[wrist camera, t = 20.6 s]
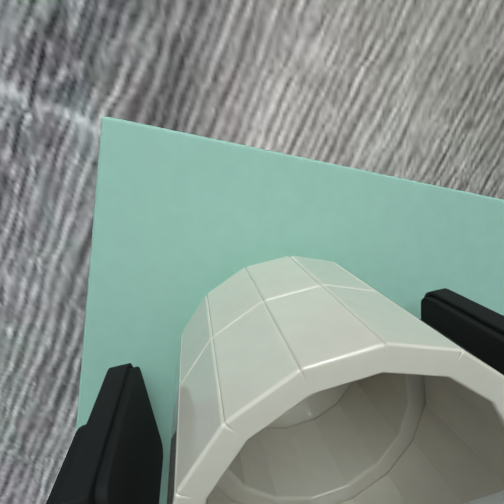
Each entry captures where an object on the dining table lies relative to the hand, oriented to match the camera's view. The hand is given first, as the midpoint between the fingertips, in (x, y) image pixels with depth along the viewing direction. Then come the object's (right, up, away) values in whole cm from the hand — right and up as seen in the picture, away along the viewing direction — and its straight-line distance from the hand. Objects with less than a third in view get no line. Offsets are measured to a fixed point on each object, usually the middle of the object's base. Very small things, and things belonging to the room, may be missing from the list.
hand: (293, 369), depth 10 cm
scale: (+1, -1, +3) cm, 3 cm away
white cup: (0, 0, +1) cm, 1 cm away
